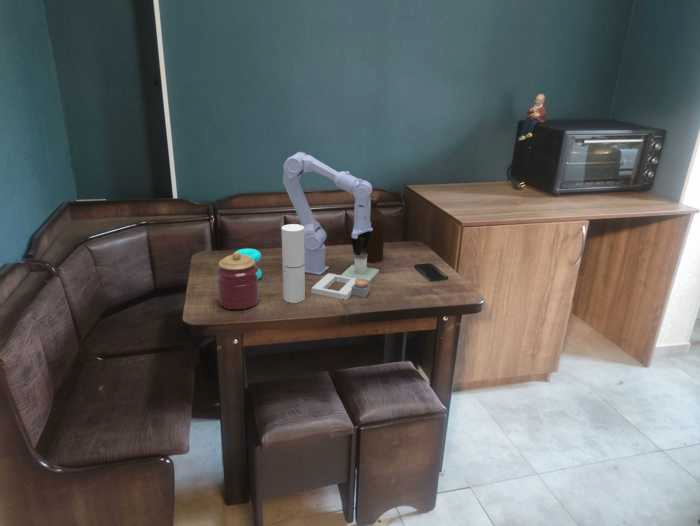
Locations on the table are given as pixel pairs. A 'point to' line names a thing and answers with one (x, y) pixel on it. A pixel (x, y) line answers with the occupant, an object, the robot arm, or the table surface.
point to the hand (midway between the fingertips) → (361, 251)
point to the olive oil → (376, 234)
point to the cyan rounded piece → (253, 254)
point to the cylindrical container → (293, 263)
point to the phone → (430, 272)
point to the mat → (368, 276)
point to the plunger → (361, 283)
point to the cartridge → (360, 263)
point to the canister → (238, 281)
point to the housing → (344, 292)
